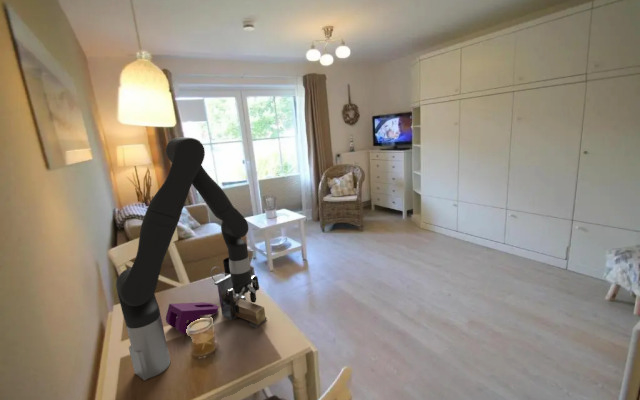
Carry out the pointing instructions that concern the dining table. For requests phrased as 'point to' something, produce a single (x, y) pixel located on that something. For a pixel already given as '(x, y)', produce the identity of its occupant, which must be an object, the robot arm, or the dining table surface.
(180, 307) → the mounting bracket
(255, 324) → the far saddle
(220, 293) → the cup bracket
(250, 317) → the brown wooden block
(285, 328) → the dining table surface
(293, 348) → the dining table surface
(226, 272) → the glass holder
